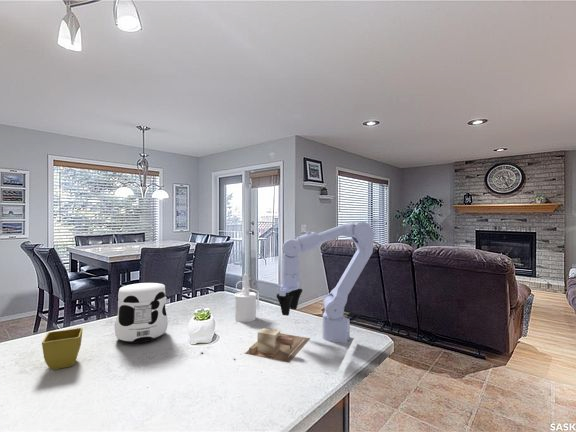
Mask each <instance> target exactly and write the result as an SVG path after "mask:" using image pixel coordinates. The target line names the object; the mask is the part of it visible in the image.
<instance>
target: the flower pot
mask: <svg viewBox="0 0 576 432" xmlns="http://www.w3.org/2000/svg"><path fill="white" fill-rule="evenodd" d="M83 329H84V328H83V327H78V328H76V327H75V328H71V329H70V328H69V329H64V330H55V331H49V332H47V333H46V334H45V336H44V338H43V340H42V342H41V347H42V355H43V358H44V362H45V364H46V366H47V367H48V368H49V369H50V370H51V371H53V370H59V369H64V368H70V367H73V366H74V365H75V363H76V361H77V359H78V354H79V352H80V349H81V345H82V337H83Z"/></svg>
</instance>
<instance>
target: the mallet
mask: <svg viewBox="0 0 576 432" xmlns="http://www.w3.org/2000/svg"><path fill="white" fill-rule="evenodd" d="M280 333H281V330H277V329H275V330H273V329H269V328H261V329H260V330H259V331H258V332H257V341H258V343H257V351H258V352H263V353H268V354H274V355H275V354H276V353H277V352H278V351H279V350H280V344H283V345H288V346H290V349H291V348H292V345H293V338H290V337H284V336H280Z"/></svg>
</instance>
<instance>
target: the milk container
mask: <svg viewBox="0 0 576 432" xmlns="http://www.w3.org/2000/svg"><path fill="white" fill-rule="evenodd" d="M117 299H118V300H117V316H116V320H115V324H114V333H115V336H116V339H117V340H119V341H120V342H124V343H129V344H134V343H135V344H136V343H143V342H144V343H145V342H149V341H153V340H156V339H158V338H160V337H162V336H163V335H164V334H165V333H166V331H167V330H168V325H169V323H168V322H169V320H168V319H169V318H168V314H167V311H166V285H165V284H163V283H159V282H140V283H133V284H127V285H123V286H121V287H120V288H119V290H118V295H117Z"/></svg>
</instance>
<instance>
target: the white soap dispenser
mask: <svg viewBox="0 0 576 432" xmlns="http://www.w3.org/2000/svg"><path fill="white" fill-rule="evenodd" d="M249 277H250V276H249V275H248V273H244V274H243V280H239V281H237V282H236V284H235V289H236V291H239V292H235V293H234V320H233V323H234V324H237V323H238V322H241V323H247V322H249V323H250V322H253V321H255V320H256V319H257V310H258V311H259V307H260V292H259V291H258V290H257V289H253V288H251V286H250V283H249V282H250V281H249V279H250V278H249ZM242 282H243V285H242V286H243V287H242V289H238V288H237V286H238V284H239V283H242ZM250 290H251V291H250ZM253 291H255V292H253Z"/></svg>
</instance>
